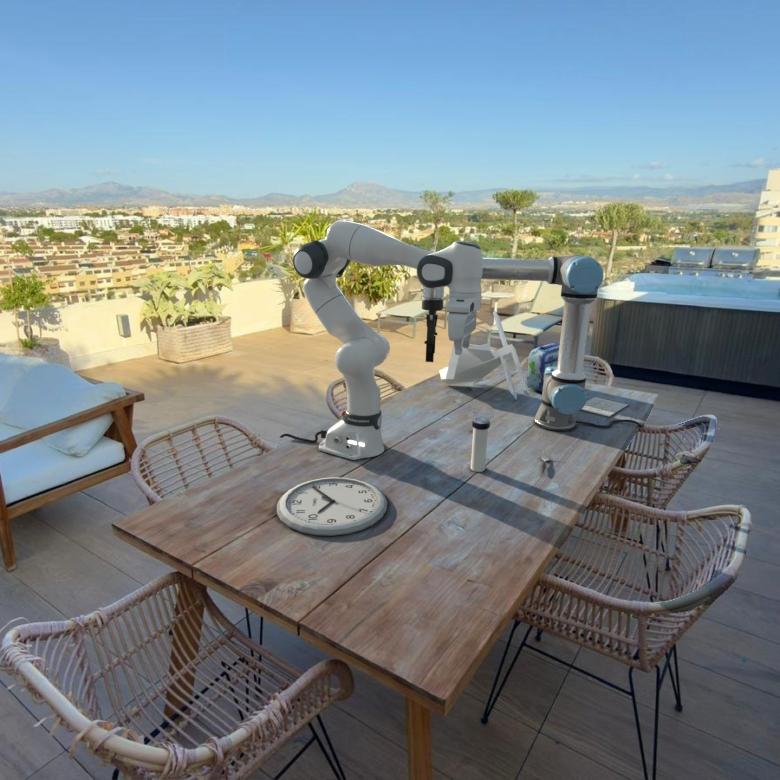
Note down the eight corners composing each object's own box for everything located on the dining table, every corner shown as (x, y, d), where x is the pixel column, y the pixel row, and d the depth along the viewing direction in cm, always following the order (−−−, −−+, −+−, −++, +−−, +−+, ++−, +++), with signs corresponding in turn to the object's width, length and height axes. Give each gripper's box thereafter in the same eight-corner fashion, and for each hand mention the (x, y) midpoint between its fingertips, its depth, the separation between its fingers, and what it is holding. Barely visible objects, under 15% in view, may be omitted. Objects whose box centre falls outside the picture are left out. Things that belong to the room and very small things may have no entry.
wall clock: (392, 527, 129) (268, 531, 127) (391, 533, 130) (269, 537, 127) (383, 473, 158) (282, 475, 155) (383, 478, 158) (282, 480, 156)
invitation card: (608, 416, 214) (573, 407, 224) (608, 416, 214) (573, 408, 224) (628, 404, 229) (594, 396, 238) (628, 405, 229) (594, 397, 238)
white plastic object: (461, 429, 252) (437, 405, 227) (444, 352, 274) (420, 323, 250) (535, 404, 240) (518, 377, 215) (510, 326, 262) (492, 293, 237)
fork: (538, 474, 162) (538, 468, 162) (542, 454, 177) (542, 449, 176) (546, 475, 162) (547, 470, 161) (550, 455, 176) (550, 450, 175)
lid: (474, 429, 159) (474, 423, 159) (470, 423, 164) (471, 417, 164) (491, 429, 159) (491, 423, 159) (487, 423, 164) (487, 417, 164)
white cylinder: (472, 472, 164) (475, 424, 159) (469, 465, 168) (472, 419, 163) (486, 471, 164) (489, 424, 159) (483, 465, 168) (486, 419, 164)
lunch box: (542, 395, 240) (547, 351, 233) (522, 390, 247) (526, 347, 241) (569, 384, 257) (575, 343, 251) (550, 380, 264) (554, 339, 258)
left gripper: (461, 297, 155) (459, 343, 159) (444, 306, 137) (442, 357, 141) (482, 298, 153) (480, 344, 157) (468, 307, 135) (465, 359, 139)
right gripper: (424, 293, 195) (422, 349, 202) (419, 302, 172) (417, 365, 178) (444, 294, 195) (441, 350, 201) (442, 303, 171) (439, 366, 177)
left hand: (462, 351), depth 149 cm, fingers open, 8 cm apart
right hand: (430, 357), depth 190 cm, fingers open, 13 cm apart
